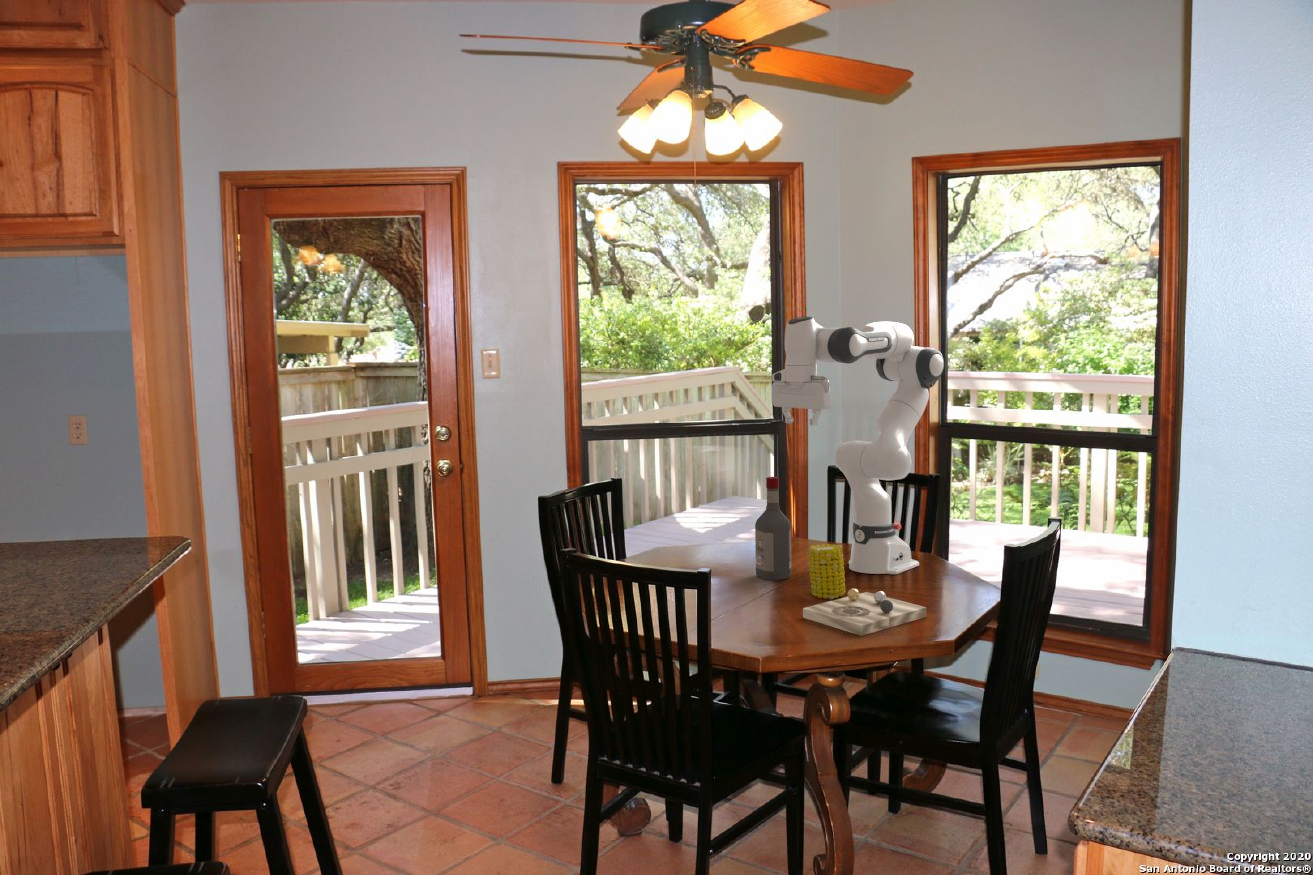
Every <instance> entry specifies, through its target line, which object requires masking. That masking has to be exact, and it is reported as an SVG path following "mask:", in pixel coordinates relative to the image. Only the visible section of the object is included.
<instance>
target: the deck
mask: <svg viewBox="0 0 1313 875" xmlns="http://www.w3.org/2000/svg"><path fill="white" fill-rule="evenodd" d="M859 593H860V592H859ZM874 595H875V593H872V592H869V591H865V592H861V593H860V596H859V598H858V599H857V600H855V601H852V600H850V599H849V598H848V596H844V597H842V598H836V599H832V600H830V601H825V602H822V603H818V604H815V605H814V604H813V605H810V606H806V607H803V608H802V617H803V618H802V619H805V620H809V621H813V622H815V623H819V624H822V625H826V626H829V627H832V628H834V629H835V628H836V629H839V630H841V631H845V632H849V633H851V634H854V635H858V636H864V635H869V634H873V633H876V632H879V631H882V630H886V629H890V628H894V627H896V626H899V625H903V624H907V623H910V622H914V621H917V620H920V619H924V618H927V607H925V606H923V605H919V604H915V603H910V602H907V601H903V600H900V599H895V598H892V597H890V596H889V597H888V596H886V597H887V599H886V600H889V601H891V602H892V604H893V609H892V611H891V612H889V613H885V612H883V611H882V610H881V608H880V604H879V603H877V602H876V601H875V600H874Z"/></svg>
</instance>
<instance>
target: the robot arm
mask: <svg viewBox="0 0 1313 875" xmlns="http://www.w3.org/2000/svg"><path fill="white" fill-rule="evenodd" d="M913 345H914V332H913V331H912V329H911V328H910V327H909V326H908V325H907V324H904V323H901V322H896V321H877V322H876V321H875V322H871V323H868V324H866V325H863V326H862V327H861V329H860V330H859V329H858V328H855V327H853V326H852V327H851V326H845V327H827V328H826V327H824V326H821V325H820V324H818V323H817V322H816V321H815V318H814V317H811V316H800V317H794V318H792V319H789V321H787V323H786V326H785V331H784V351H785V356H786V357H785V363H784V368H783V369H781V370H779V371H776V372H775V373H774V372H773V374H772V375H771V380H772V382H773V383H772V384H771V404H772V405H773V406H774V407H776V408H781V412H782V414H783V416H784V418H785V419H784V421H785V424H793V423H794V416H792V415H791V409H804V410H805V409H806V410H811V411H812V412H811V413H812V417H811V418H809V425H810V426H812V427H813V426H818V425H819V422H818V421H819V417H820V415H821V413H822V410H823V411H825V410H830V409H831V407H832V406H833V405H832V404H833V403H832V402H833V401H832V393H831V387H830V381H829V379H828V378H827V377H826V376H824V375H817V374H818V371H817V370H818V369H817V368H818V367H817V366H818V365H817V363H839V364H853V363H856V362H857V361H858V360H859V359H861V358H862V357H865V358H868V359H876V360H875V369H876V372H877V374H878V376H879V377H880V378H881V379H884V380H885V381H890V382H898V384H897V388H896V391H895V392H894V393H893V394H892V395H891V396H890V398H889V399H888V401H887V403H886V404H885V406H884V407H883V409H882V410H881V412H880V413H879V415H878V417H877V418H876V420H875V428H876V431H877V433H878V435H879V437H878V438H877V440H875V441H865V440H858V439H857V440H852V441H851V440H850V441H846V442H843V443H841V444H839V446H838V448H837V450H836V453H835V464H836V466H837V468H838V470H839V471H840V472H842V473H843V475H844V476H845V478H846V480H847V483H848V485H849V487H850V490H851V492H852V497H853V508H854V509H853V511H854V512H853V514H854V517H853V519H854V522H853V523H852V535H853V539H852V542H851V549H850V550H851V552H850V559H849V560H848V565H849V566H848V569H849V570H851V571H853V572H856V573H861V574H873V575H875V574H876V575H881V574H883V575H885V574H886V575H887V574H888V575H899V574H900V573H901V574H902V573H903V572H905V571H908V570H911V569H913V568H916V567H919V566H920V562H919V561H918V560H916V559H912V551H911V547H910V546H909V544H908V543H906V541H904V540H903V539H901V538H900V537H899V535H897V534H896V530H897V531H900V530H901V529H902V524H901V523H899V522H898V523H897V522H894V523H892V499H891V496H890V495H889V494H888V492H886V490H884V488H883V487H882V485H881V483H880V480H881V481H882V480H883V481H895V480H902V479H905V478H906V477H907V476H908V475H909V473H910V471H911V469H912V464H913V460H912V456H911V453H910V451H909V450H908V442H909V439H910V437H911V435H912V433H913V431H914V430H915V428H916V426H917V425H918V423H919V421H920V420H921V418H922V416H923V414H924V412H925V410H926V407H927V405H928V401H929V400H930V392H929V390H928V389H931V388H933V387H934V386H935V385H936V384H937V382H938V381H939V379H940V378H941V376H942V375H943V373H944V370H945V359H944V357H943V354H942V353H941V351H940V350H938V349H935V348H932V347H929V346H928V347H921V346H913Z"/></svg>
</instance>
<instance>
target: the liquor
mask: <svg viewBox="0 0 1313 875" xmlns="http://www.w3.org/2000/svg"><path fill="white" fill-rule="evenodd" d="M765 480H766V481H765V482H766V483H765V489H766V506H765V510H764V511H763V512H762V514H761V515H760V516H759V517H758V518H757V519H756V521H755V524H754V532H755V534H754V535H755V544H754V545H755V546H754V547H755V575H756V577H757V578H759V579H762V580H764V581H771V582H776V581H782V580H788V579H789V578H790V577H791V575H792V525H791V522H790V519H789V518H788V517H787V516H786V515H785V514H784V512H782V510H781V508H780V502H779V488H780V485H779V484H780V483H779V481H780V479H779V476H768V477H767V476H766V477H765Z"/></svg>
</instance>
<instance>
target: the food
mask: <svg viewBox="0 0 1313 875" xmlns="http://www.w3.org/2000/svg"><path fill="white" fill-rule="evenodd" d="M808 556H809V557H808V562H809V576H810V577H809V579H810V588H811V593H812V596H813V597H816V598H819V599H822V598H823V599H825V600H827V599H829V600H830V601H833V600H835V599H839V597H843V595H845V594H846V583H845V582H846V578H845V577H846V576H845V567H844V565H845V563H844V560H845V559H844V554H843V546H842V545H841V544H840V545H839V544H837V545H836V544H833V543H832V544H830V543H826V544H824V543H822V544H818V543H817V544H816V545H809V547H808Z"/></svg>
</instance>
